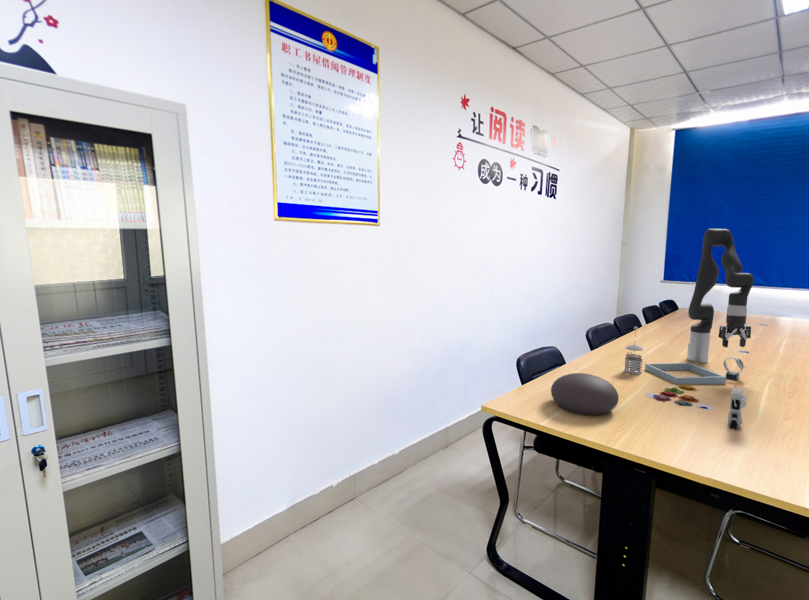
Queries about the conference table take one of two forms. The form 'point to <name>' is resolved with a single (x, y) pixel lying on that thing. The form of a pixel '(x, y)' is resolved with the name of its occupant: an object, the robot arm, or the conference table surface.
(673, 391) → the gear puzzle
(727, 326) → the robot arm
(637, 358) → the french press
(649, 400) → the conference table surface
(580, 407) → the smooth stone
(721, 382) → the grey flat square frame
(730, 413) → the robot toy
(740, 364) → the watch
